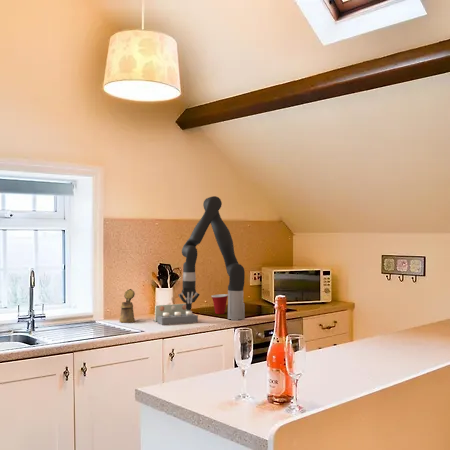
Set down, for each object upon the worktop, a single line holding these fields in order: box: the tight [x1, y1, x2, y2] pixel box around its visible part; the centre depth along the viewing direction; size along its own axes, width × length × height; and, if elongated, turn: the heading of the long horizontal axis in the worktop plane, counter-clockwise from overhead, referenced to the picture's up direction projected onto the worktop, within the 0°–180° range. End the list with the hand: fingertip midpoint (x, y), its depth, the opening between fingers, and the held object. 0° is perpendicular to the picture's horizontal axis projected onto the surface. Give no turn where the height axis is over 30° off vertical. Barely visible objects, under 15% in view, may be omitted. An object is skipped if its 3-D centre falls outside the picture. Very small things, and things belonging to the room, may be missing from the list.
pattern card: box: [152, 303, 191, 323], centre depth 332 cm, size 22×4×10 cm, turn 116°
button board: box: [156, 313, 199, 326], centre depth 324 cm, size 22×8×4 cm, turn 116°
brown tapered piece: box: [119, 288, 136, 324], centre depth 329 cm, size 9×14×18 cm, turn 178°
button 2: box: [186, 310, 193, 316], centre depth 327 cm, size 4×4×2 cm
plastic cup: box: [211, 293, 228, 315], centre depth 360 cm, size 11×11×12 cm
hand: (188, 309), depth 327 cm, fingers closed
